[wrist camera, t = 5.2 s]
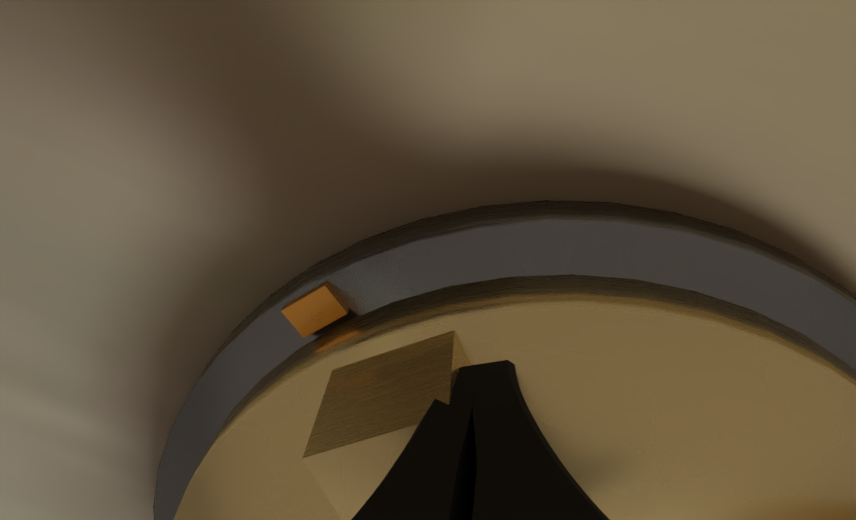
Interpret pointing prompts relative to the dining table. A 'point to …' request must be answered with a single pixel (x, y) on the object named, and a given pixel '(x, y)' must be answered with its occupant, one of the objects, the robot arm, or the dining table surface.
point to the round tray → (554, 404)
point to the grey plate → (491, 259)
